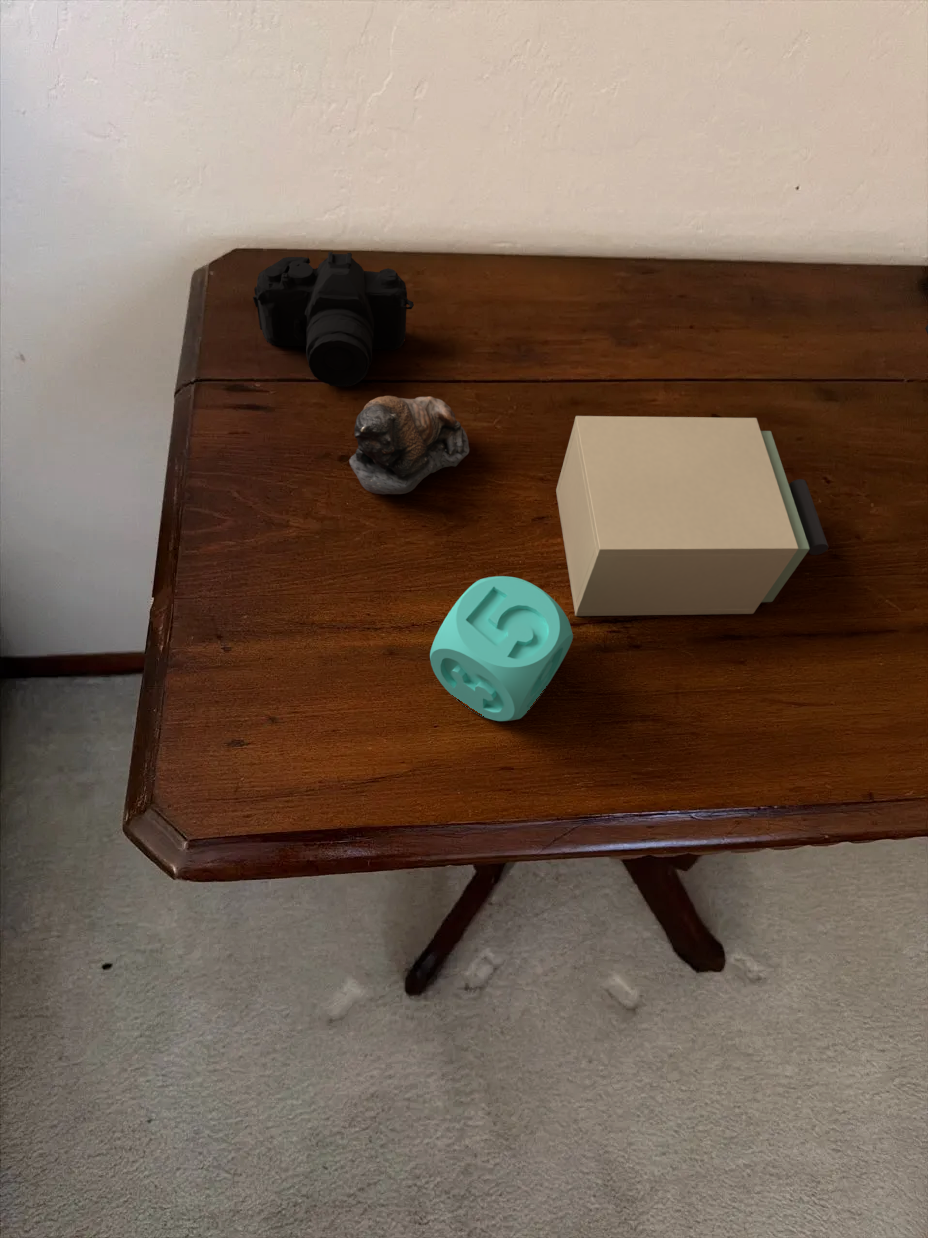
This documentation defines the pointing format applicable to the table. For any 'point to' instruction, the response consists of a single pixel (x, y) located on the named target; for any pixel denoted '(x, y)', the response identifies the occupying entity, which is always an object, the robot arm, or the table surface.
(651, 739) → the table surface
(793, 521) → the drawer
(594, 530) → the cabinet
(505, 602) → the decorative dice
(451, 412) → the bison figurine
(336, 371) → the film camera
